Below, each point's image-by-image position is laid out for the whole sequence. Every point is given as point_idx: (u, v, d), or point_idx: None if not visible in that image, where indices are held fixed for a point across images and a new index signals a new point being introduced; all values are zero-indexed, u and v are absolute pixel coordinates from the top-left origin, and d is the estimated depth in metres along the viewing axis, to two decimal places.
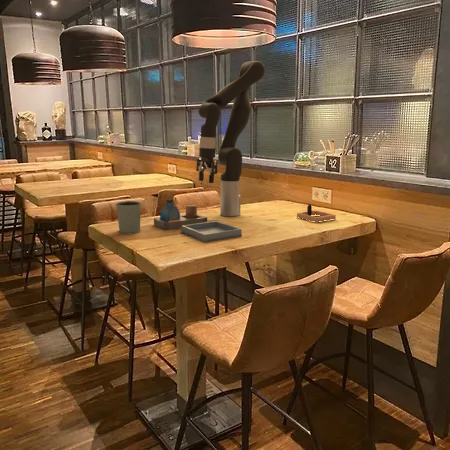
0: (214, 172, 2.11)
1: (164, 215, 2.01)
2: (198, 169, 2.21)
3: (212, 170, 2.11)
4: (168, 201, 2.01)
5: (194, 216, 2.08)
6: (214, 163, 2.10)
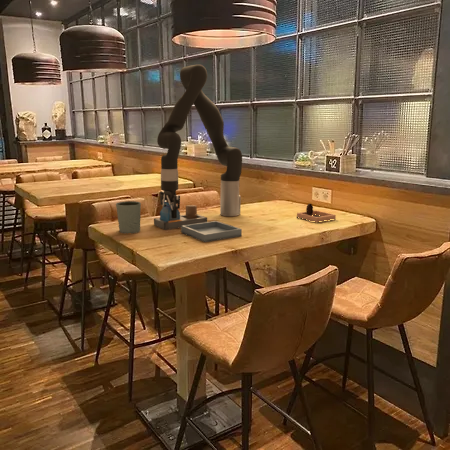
0: (176, 207, 1.97)
1: (164, 215, 2.01)
2: (162, 203, 2.06)
3: (174, 205, 1.97)
4: None
5: (194, 216, 2.08)
6: (176, 198, 1.96)
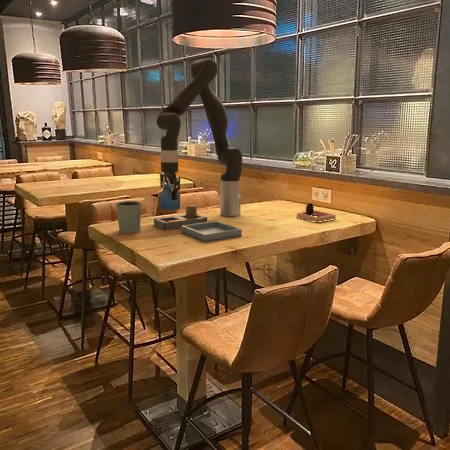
0: (176, 189, 1.95)
1: (164, 197, 1.99)
2: (162, 185, 2.04)
3: (174, 187, 1.95)
4: (168, 183, 1.99)
5: (194, 216, 2.08)
6: (176, 179, 1.94)
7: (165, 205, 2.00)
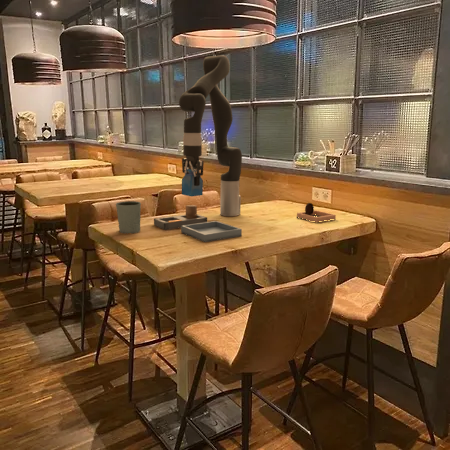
0: (199, 173, 1.86)
1: (186, 183, 1.90)
2: (184, 170, 1.95)
3: (197, 171, 1.85)
4: None
5: (194, 216, 2.08)
6: (200, 164, 1.85)
7: (186, 191, 1.90)
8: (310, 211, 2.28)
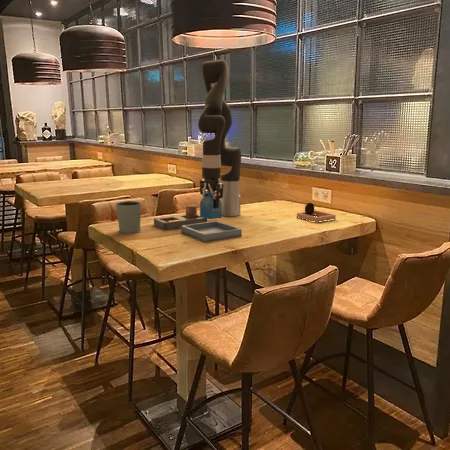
0: (219, 196, 1.82)
1: (205, 205, 1.86)
2: (202, 192, 1.91)
3: (217, 194, 1.82)
4: None
5: (194, 216, 2.08)
6: (220, 186, 1.81)
7: (205, 213, 1.87)
8: (310, 211, 2.28)
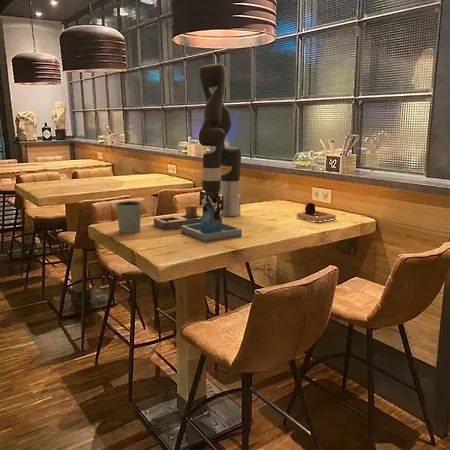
0: (220, 208, 1.83)
1: (205, 221, 1.88)
2: (201, 203, 1.93)
3: (218, 206, 1.82)
4: (210, 206, 1.87)
5: (194, 216, 2.08)
6: (220, 198, 1.82)
7: (205, 229, 1.88)
8: (311, 211, 2.28)
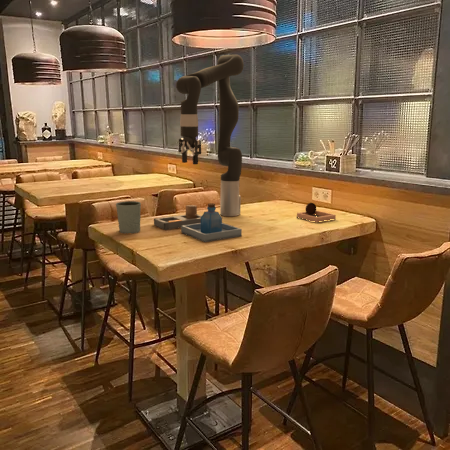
0: (198, 152, 1.94)
1: (205, 221, 1.88)
2: (181, 150, 2.04)
3: (195, 150, 1.94)
4: (210, 206, 1.87)
5: (194, 216, 2.08)
6: (197, 142, 1.93)
7: (205, 229, 1.88)
8: (312, 211, 2.28)
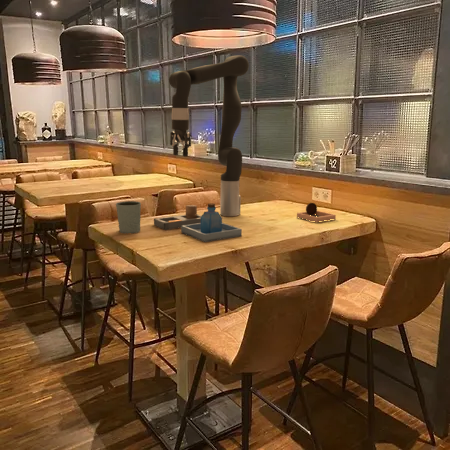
0: (187, 145, 2.01)
1: (205, 221, 1.88)
2: (172, 143, 2.11)
3: (185, 143, 2.00)
4: (210, 206, 1.87)
5: (194, 216, 2.08)
6: (187, 135, 2.00)
7: (205, 229, 1.88)
8: (313, 211, 2.28)
